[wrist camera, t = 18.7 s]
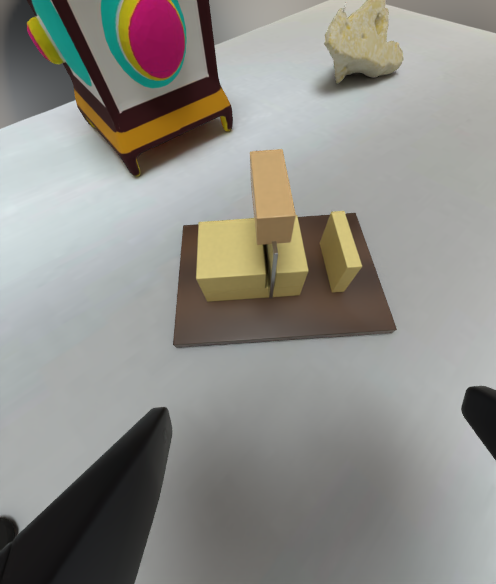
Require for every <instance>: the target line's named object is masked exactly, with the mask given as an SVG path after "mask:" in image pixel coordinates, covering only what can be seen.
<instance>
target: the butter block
mask: <svg viewBox="0 0 496 584" xmlns="http://www.w3.org/2000/svg"><path fill="white" fill-rule="evenodd" d="M277 249H278V259H277V267H276V275H275V283H274V291H273V297H281V296H295V295H300V293H301V290H302V287H303V285H304V282H305V279H306V276H307V274H308V266H307V261H306V256H305V251H304V246H303V241H302V236H301V231H300V227H299V222H298V217H297V215H296V217H295V222H294V227H293V233H292V238H291V242H290V243H277ZM196 280H197V282H198V284H199V286H200V288H201V290H202V292H203V294H204V296H205V298H206V300H207V302H210V301H224V300H238V299H253V298H267V297H269V292H268V283H267V274H266V265H265V256H264V247H263V245H257V241H256V230H255V219H254V218H249V219H236V220H222V221H208V222H199V229H198V250H197V271H196Z"/></svg>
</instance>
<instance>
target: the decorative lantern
mask: <svg viewBox="0 0 496 584" xmlns="http://www.w3.org/2000/svg"><path fill="white" fill-rule="evenodd" d="M27 1H28V3H29V5H30V7H31V8H32V10H33V12H34V14H35V15H36V17H33V18H31V19H30V20H29V21H28V22H27V30H28V33H29V35H30V37H31V39H32V41H33V42H34V44H35V45H36V47H37V48H38V50H39V51H40V53H41V54H42V55H43V56H44V57H45V58H46V59H47V60H49V61H51V62H52V63H54V64H61V63H63V65H64V66H65V68H66V70H67V72H68V74H69V75H70V77H71V80H72V82H73V85H74V92H75V99H76V102H77V106H78V108H79V110H80V112H81V113H82V115H83V117H84V118H85V120H86V121H87V122H88V124H89V125H91V126H92V127H94V128H96V129H97V130H98V131H99V132H100V133H101V135H102V136H103V137H104V138H105V139H106V140H107V142H108V143H109V144H110V145H111V146H112V147H113V148H114V150H115V151H116V152H117V153H118V155H119V156H120V157H121V159H122V160H123V162H124V163H125V165H126V167H127V168H128V170H129V171H130V173H131V174H133V175H134V176H139V175H140V169H139V165H138V162H137V157H138V156H139V155H140V154H141V153H142V152H145V151H147V150H149V149H151V148H153V147H155V146H157V145H160V144H162V143H164V142H166V141H168V140H170V139H172V138H175V137H177V136H179V135H181V134H183V133H185V132H187V131H189V130H192V129H194V128H196V127H198V126H200V125H202V124H204V123H207V122H209V121H211V120H213V119H215V118H217V117H219V116H220V119H221V124H222V127H223V129H224V130H225V131H230V130H231V129H232V123H233V117H232V108H231V105H230V103H229V100H228V98H227V96H226V95H225V93H224V91H223V89H222V87H221V85H220V82H219V78H218V72H217V64H216V55H215V47H214V39H213V31H212V22H211V14H210V6H209V0H27Z"/></svg>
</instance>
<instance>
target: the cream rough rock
mask: <svg viewBox="0 0 496 584" xmlns="http://www.w3.org/2000/svg"><path fill="white" fill-rule="evenodd" d="M346 4H347V2H345V5H344V8H341V9H339V10H338V12H337V14H336V16H335V17H334V18H333V20H332V22H331V24H330V25H329V27H328V30H327V32H326V34H325V43H324V44H325V46H326V47H327V49H328V50H329V53H330V55H331V57H332V58H333V60H334V68H335V79H336V83H337V84H338V83H340V82H341V81H342V80H343V79H344V77H345V75H351V74H352V73H363V74H365V75H366V76H368V77H372V78H375V77H377V76H380V75H385V74H391V73H392V72H394V71H396V70H397V69H398V68H399V67H400V65H401V64H402V61H403V52H402V50H401V48H400V47H399V43H398V42H396V43H395V42H394V41H390V42H387V29H388V15H389V12H388V9H387V8H385V0H367V1H366V2H365V3H364V4H363V5H362V6H361V7H360V8H359V9H358V10H357V11H356V12H354V13H352V14H351V15H350V16H349V17H348V18H347V16H346V13H345V12H343V11H344V9H345V8H346Z"/></svg>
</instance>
